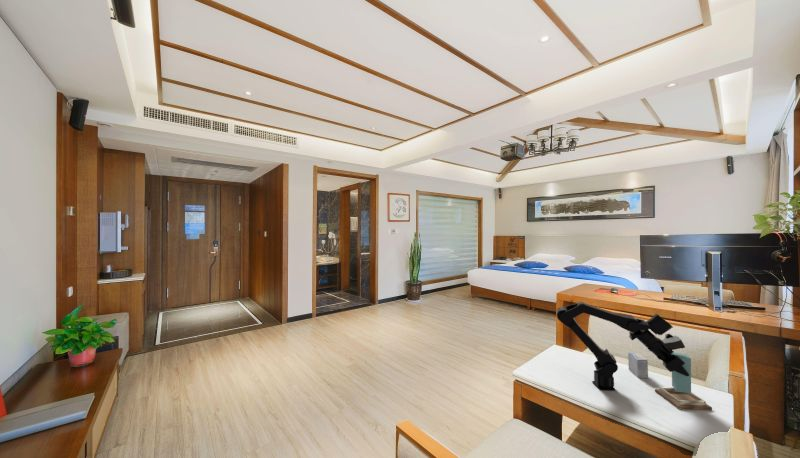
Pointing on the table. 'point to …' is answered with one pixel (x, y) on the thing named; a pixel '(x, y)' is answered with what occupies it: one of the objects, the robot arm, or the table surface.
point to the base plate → (682, 399)
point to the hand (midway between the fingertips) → (685, 372)
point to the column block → (680, 380)
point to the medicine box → (638, 365)
